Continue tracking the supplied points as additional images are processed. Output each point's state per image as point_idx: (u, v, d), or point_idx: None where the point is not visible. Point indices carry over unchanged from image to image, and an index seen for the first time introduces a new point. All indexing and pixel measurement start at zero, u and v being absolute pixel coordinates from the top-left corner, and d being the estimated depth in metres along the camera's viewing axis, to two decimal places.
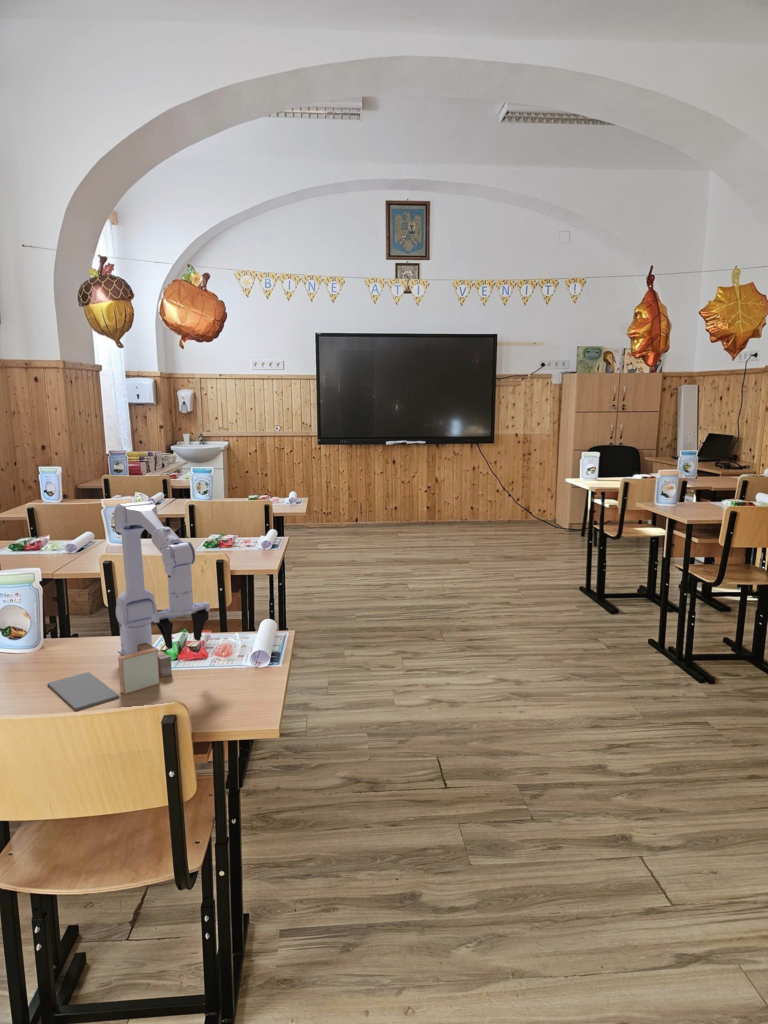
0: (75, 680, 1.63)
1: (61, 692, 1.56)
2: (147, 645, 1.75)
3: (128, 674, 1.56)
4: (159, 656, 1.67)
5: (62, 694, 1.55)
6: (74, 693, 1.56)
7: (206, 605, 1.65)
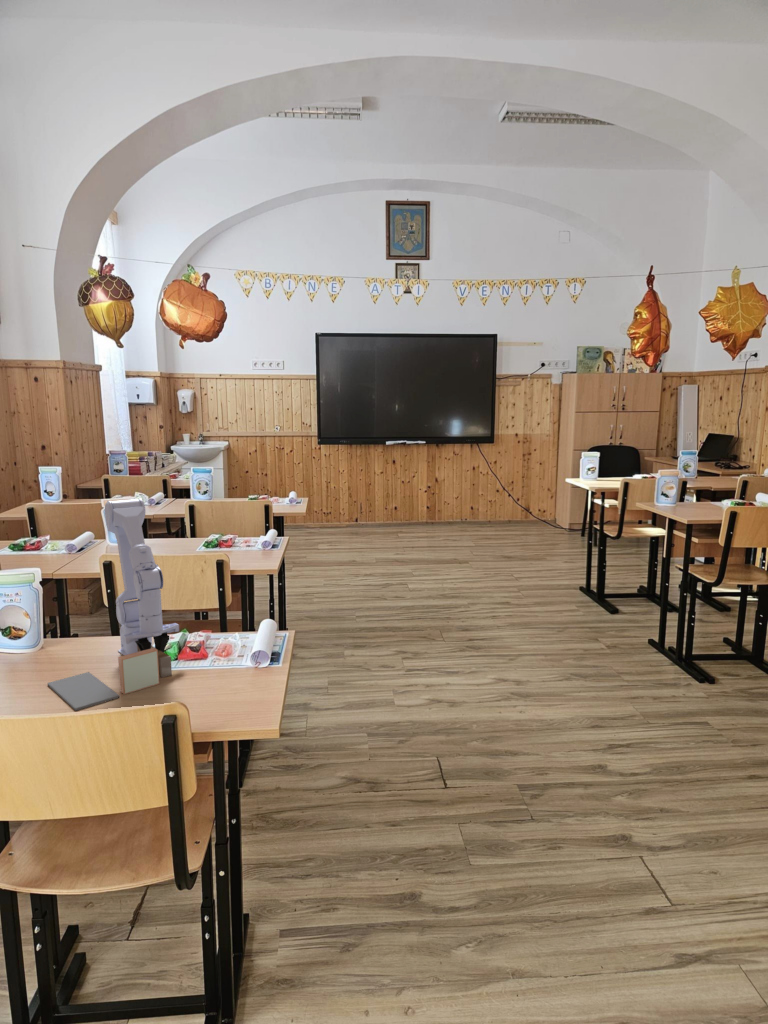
0: (75, 680, 1.63)
1: (61, 692, 1.56)
2: None
3: (128, 674, 1.56)
4: (159, 656, 1.67)
5: (62, 694, 1.55)
6: (74, 693, 1.56)
7: (175, 626, 1.75)
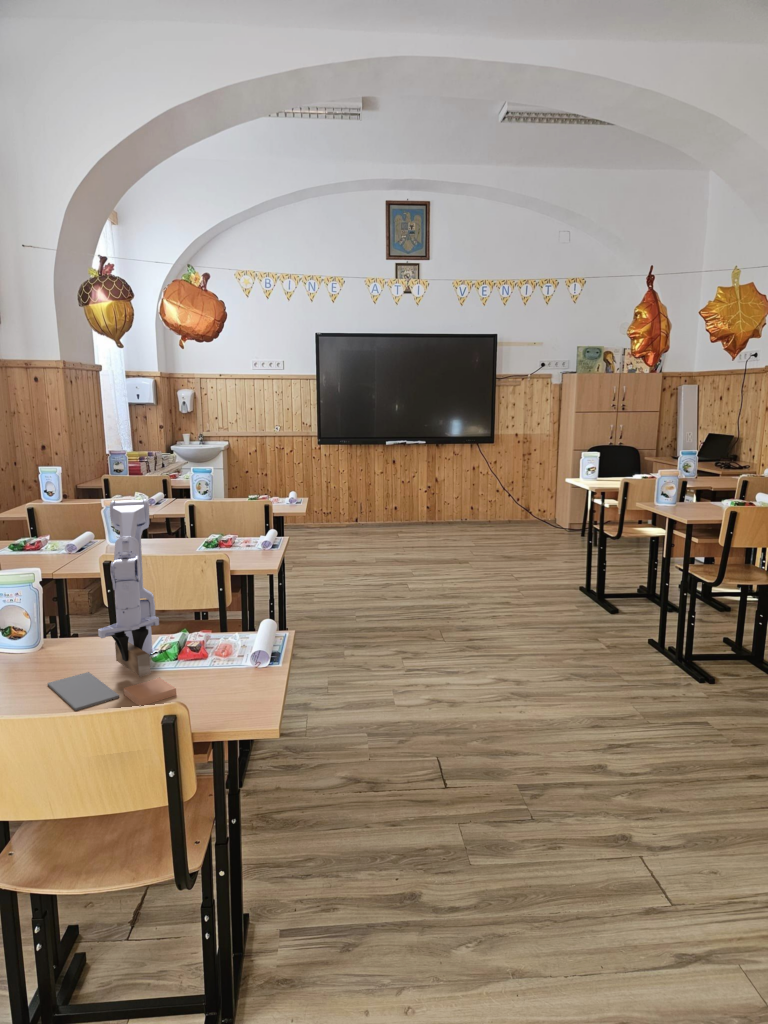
0: (75, 680, 1.63)
1: (61, 692, 1.56)
2: None
3: None
4: (137, 654, 1.57)
5: (62, 694, 1.55)
6: (74, 693, 1.56)
7: (155, 620, 1.64)
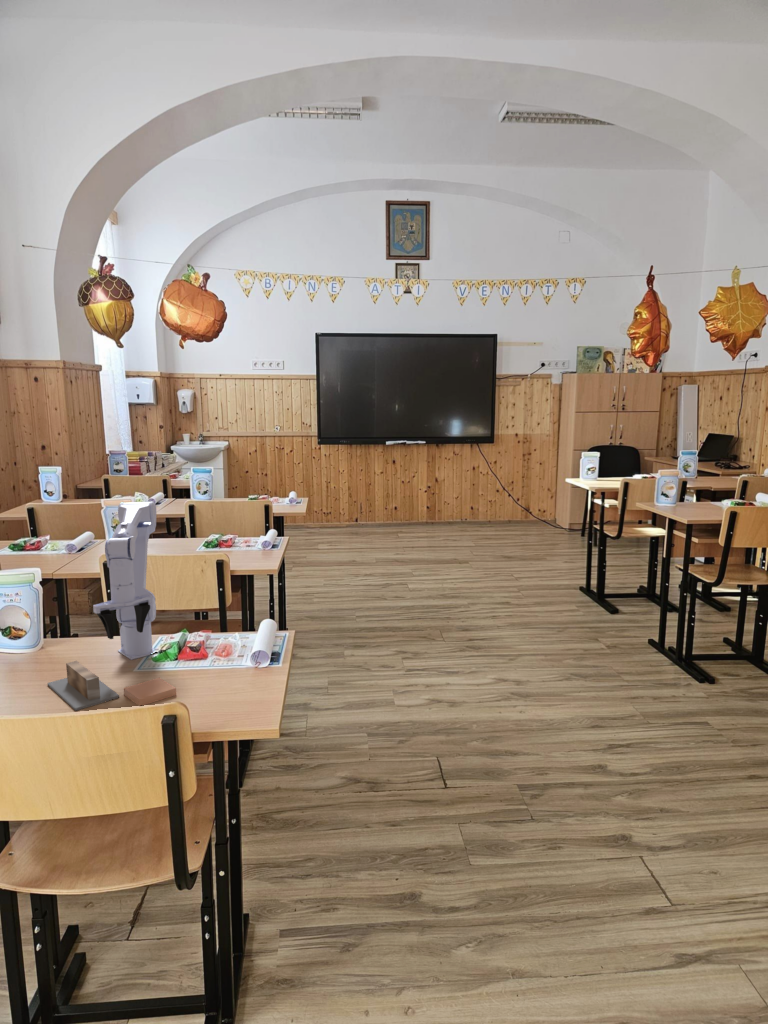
0: None
1: (61, 692, 1.56)
2: (77, 664, 1.61)
3: None
4: (86, 677, 1.53)
5: (62, 694, 1.55)
6: (74, 693, 1.56)
7: (148, 598, 1.70)
